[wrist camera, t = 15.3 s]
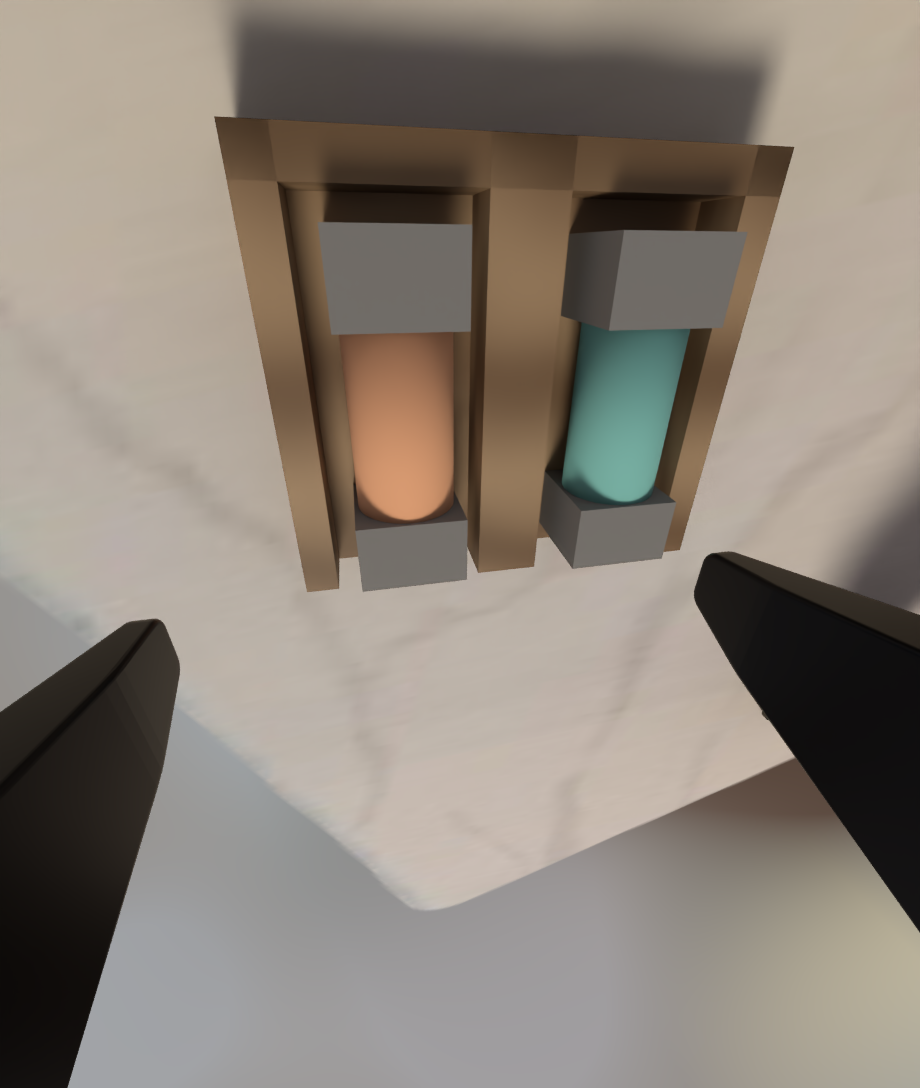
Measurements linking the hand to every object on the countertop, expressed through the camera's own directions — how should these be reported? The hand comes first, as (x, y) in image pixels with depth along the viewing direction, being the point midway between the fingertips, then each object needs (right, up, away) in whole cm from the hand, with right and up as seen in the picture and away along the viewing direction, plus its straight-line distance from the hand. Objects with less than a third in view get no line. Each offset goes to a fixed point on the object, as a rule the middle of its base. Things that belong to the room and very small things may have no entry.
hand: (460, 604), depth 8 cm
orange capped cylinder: (-2, +6, +10) cm, 12 cm away
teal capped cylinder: (+6, +7, +11) cm, 14 cm away
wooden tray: (+1, +7, +11) cm, 13 cm away
